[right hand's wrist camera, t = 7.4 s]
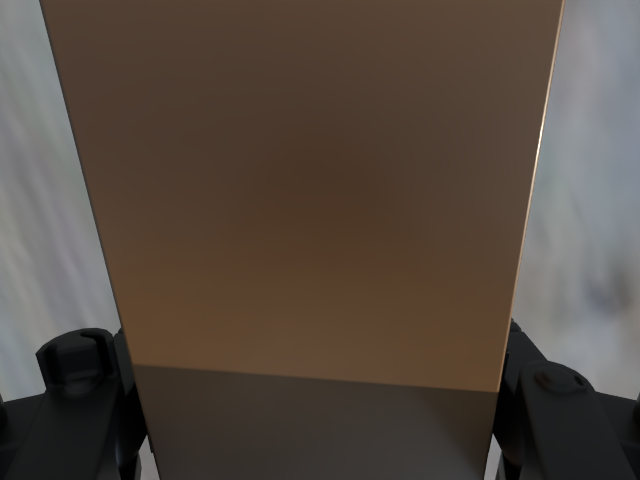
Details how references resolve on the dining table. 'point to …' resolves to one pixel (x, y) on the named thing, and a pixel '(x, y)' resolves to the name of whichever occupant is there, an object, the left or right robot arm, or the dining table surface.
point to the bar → (311, 220)
